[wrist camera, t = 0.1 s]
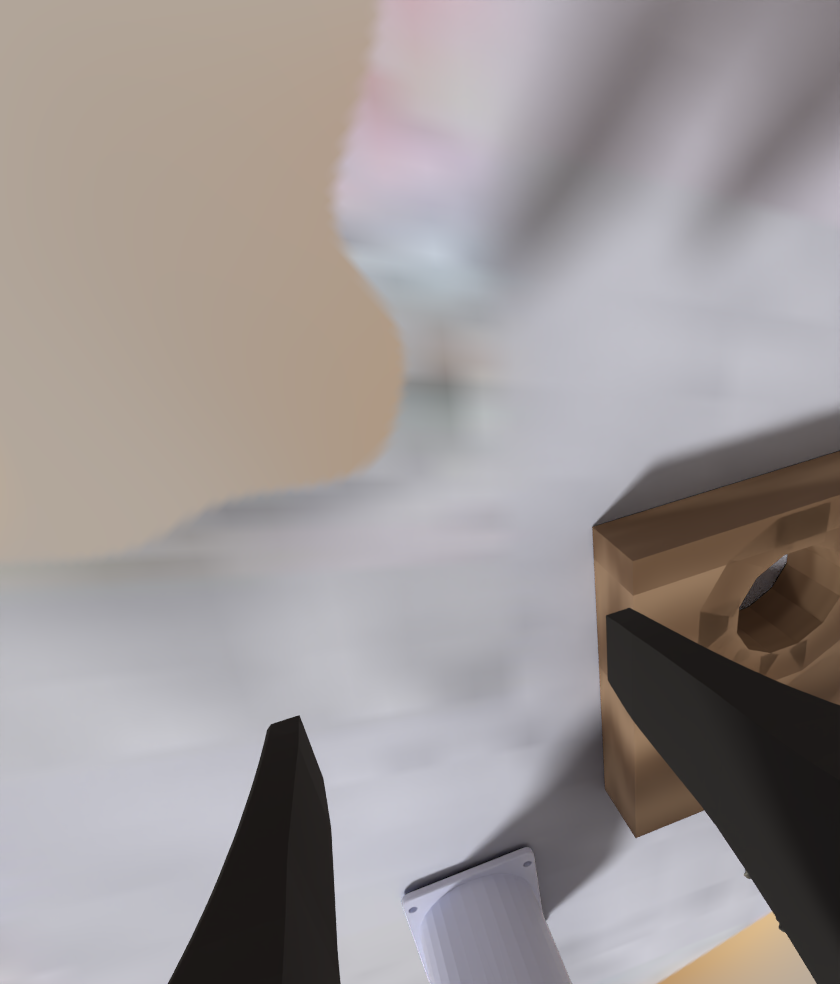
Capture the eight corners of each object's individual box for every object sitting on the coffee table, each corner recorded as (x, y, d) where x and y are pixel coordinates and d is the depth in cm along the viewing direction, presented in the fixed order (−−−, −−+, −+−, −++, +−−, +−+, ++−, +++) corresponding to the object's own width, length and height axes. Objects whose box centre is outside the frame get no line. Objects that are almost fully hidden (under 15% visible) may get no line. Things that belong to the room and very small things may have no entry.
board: (834, 700, 35) (882, 738, 32) (605, 789, 32) (635, 838, 29) (891, 434, 27) (961, 455, 24) (592, 526, 24) (632, 561, 22)
